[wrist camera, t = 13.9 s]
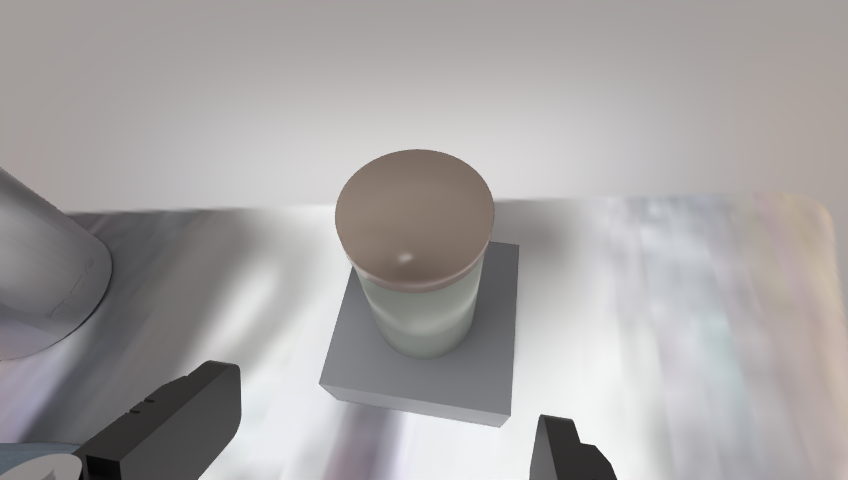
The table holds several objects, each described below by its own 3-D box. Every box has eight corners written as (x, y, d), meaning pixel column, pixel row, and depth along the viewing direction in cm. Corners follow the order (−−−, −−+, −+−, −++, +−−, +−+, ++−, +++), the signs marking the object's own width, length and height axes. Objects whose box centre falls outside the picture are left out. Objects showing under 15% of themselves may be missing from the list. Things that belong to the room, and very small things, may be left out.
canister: (364, 353, 20) (314, 267, 12) (386, 261, 23) (356, 143, 15) (469, 369, 19) (487, 290, 12) (479, 272, 22) (499, 156, 14)
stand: (337, 399, 23) (318, 383, 19) (373, 259, 27) (363, 226, 24) (499, 427, 22) (510, 415, 18) (509, 276, 26) (518, 245, 23)
